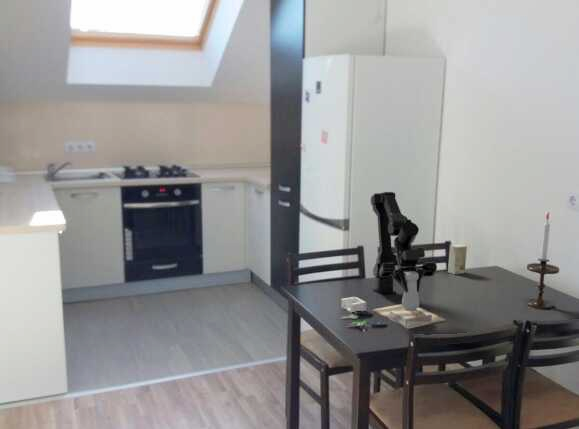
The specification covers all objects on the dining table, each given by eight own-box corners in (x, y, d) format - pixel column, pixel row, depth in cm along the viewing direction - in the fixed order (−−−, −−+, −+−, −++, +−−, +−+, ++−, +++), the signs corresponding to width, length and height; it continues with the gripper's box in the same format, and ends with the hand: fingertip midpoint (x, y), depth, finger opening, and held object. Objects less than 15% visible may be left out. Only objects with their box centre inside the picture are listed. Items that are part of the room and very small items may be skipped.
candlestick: (555, 311, 212) (565, 215, 205) (523, 307, 216) (531, 212, 209) (555, 302, 221) (564, 210, 215) (524, 298, 226) (532, 207, 219)
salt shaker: (422, 311, 198) (424, 274, 196) (407, 313, 196) (409, 275, 194) (413, 305, 204) (415, 269, 201) (398, 307, 202) (400, 270, 199)
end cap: (351, 313, 208) (352, 304, 207) (341, 307, 214) (341, 298, 213) (366, 310, 211) (366, 302, 210) (354, 304, 217) (355, 296, 216)
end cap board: (373, 310, 210) (373, 302, 210) (408, 304, 218) (409, 296, 217) (407, 328, 194) (408, 319, 193) (444, 321, 201) (445, 312, 201)
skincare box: (454, 274, 257) (456, 247, 254) (447, 272, 260) (449, 245, 258) (465, 273, 259) (467, 245, 257) (458, 270, 263) (460, 243, 261)
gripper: (383, 239, 198) (390, 281, 190) (437, 238, 200) (446, 280, 192) (376, 256, 208) (383, 296, 199) (427, 255, 210) (436, 295, 201)
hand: (412, 292), depth 197 cm, fingers closed on salt shaker, 3 cm apart
